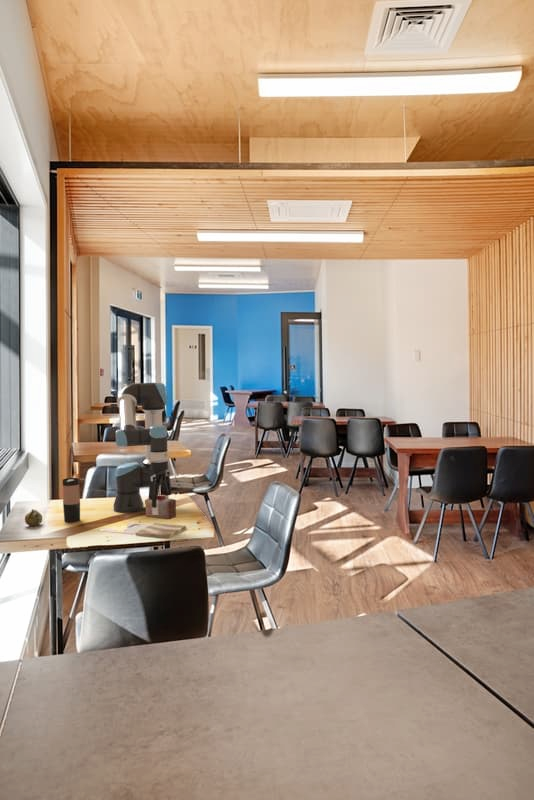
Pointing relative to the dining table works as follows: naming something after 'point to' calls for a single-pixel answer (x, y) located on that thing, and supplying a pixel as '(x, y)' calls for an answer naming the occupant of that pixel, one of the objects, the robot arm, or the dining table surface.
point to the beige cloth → (161, 530)
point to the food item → (162, 508)
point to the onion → (33, 518)
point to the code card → (129, 528)
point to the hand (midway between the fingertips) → (160, 512)
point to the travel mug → (71, 500)
